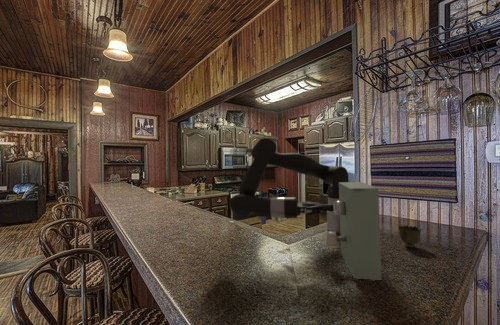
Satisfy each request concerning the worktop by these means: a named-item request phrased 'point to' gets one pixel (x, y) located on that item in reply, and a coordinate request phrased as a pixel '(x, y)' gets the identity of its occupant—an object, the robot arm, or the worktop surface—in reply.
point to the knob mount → (361, 229)
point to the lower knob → (333, 238)
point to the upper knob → (339, 207)
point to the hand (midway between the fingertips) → (333, 207)
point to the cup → (409, 235)
